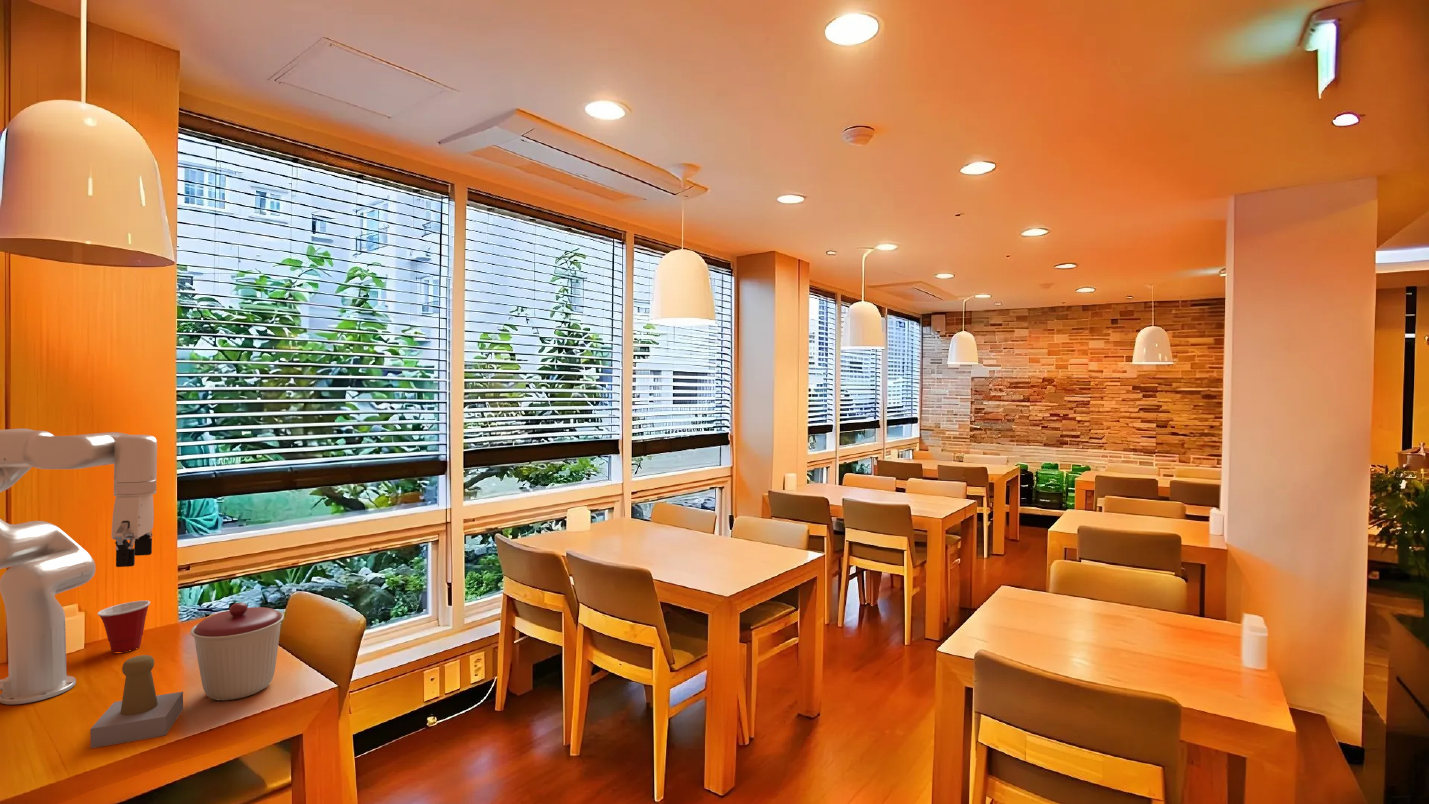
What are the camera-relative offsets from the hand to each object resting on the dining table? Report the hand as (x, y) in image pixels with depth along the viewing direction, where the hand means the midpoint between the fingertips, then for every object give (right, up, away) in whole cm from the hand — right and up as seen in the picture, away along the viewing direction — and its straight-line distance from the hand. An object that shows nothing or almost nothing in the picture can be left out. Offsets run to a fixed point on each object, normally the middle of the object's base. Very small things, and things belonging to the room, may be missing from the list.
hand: (134, 560), depth 155 cm
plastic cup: (-25, -31, +26) cm, 47 cm away
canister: (+22, -32, +3) cm, 39 cm away
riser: (+13, -32, -14) cm, 38 cm away
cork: (+13, -28, -14) cm, 34 cm away
